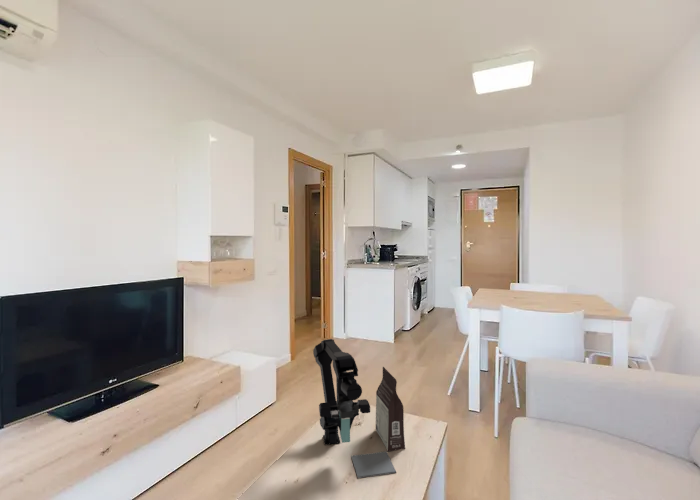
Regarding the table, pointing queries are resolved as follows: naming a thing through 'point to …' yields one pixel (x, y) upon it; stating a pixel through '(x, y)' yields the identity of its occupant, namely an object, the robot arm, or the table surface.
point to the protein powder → (389, 414)
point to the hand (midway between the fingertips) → (344, 430)
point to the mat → (372, 464)
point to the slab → (345, 429)
